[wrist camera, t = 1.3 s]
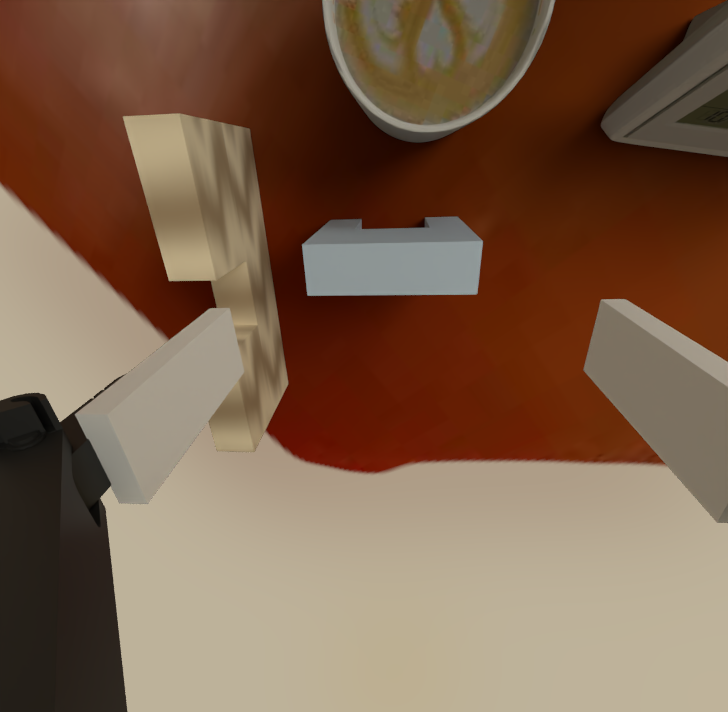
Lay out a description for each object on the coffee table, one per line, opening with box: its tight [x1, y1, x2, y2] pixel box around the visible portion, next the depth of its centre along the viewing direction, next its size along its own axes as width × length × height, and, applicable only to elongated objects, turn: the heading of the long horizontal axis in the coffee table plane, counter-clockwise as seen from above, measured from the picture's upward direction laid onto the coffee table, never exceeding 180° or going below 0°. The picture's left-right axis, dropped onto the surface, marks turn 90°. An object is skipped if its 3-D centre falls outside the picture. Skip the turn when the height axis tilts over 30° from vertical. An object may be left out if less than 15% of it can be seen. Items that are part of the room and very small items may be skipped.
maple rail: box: [123, 113, 288, 452], centre depth 28 cm, size 22×3×10 cm, turn 2°
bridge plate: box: [302, 217, 483, 296], centre depth 26 cm, size 3×10×10 cm, turn 92°
